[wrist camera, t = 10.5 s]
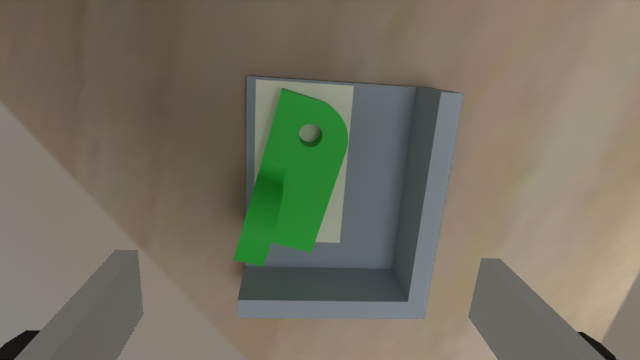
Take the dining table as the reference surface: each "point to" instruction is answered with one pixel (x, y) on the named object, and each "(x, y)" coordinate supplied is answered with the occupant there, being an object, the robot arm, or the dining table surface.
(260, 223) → the mechanical part
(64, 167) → the dining table surface
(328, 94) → the corner arena
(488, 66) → the dining table surface
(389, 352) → the dining table surface
